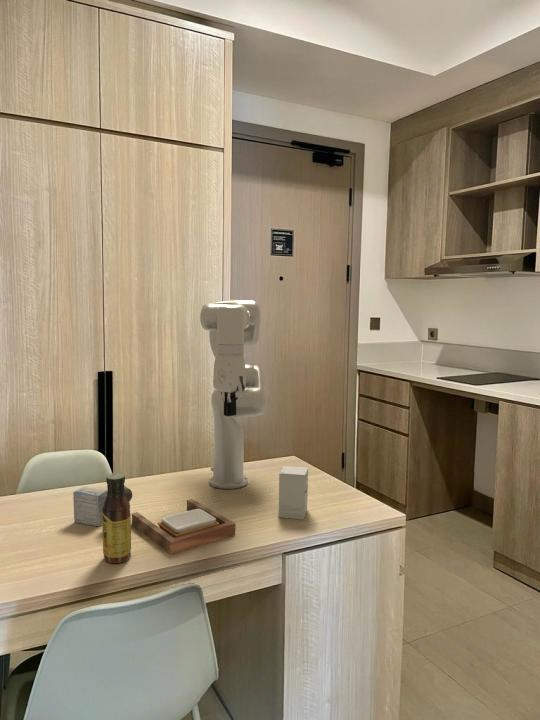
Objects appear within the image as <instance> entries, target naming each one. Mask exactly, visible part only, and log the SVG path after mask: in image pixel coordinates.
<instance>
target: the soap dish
mask: <svg viewBox="0 0 540 720" xmlns="http://www.w3.org/2000/svg"><path fill="white" fill-rule="evenodd" d="M217 525H219V523H218V522H217V521H216V518H214V517H213V516H211V515H210V514H208V513H206V512H205V511H203V510H201V509H195V510H190V511H188V510H186V511H182V512H178V513H173V514H169V515H167V516H163V517H161V521H159V522H157V526H158V527H159V528H160V529H162V530H163V531H165V532H166V533H168V534H169V535H170V536H172V537H173V538H176V537H180V536H183V535H187V534H190V533H193V532H197V531H200V530H204V529H207V528H211V527H214V526H217Z"/></svg>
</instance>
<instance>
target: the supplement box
mask: <svg viewBox="0 0 540 720" xmlns="http://www.w3.org/2000/svg"><path fill="white" fill-rule="evenodd" d="M278 475H279V476H278V480H279V481H278V511H277V513H278V516H277V517H278V518H284V519H292V520H293V519H294V520H304V519H305V516H306V513H307V510H308V494H309V493H308V491H309V489H308V487H309V467H304V466H290V465H289V466H288V465H283V466H282V468H281V470H280V472H279V473H278Z"/></svg>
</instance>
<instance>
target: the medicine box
mask: <svg viewBox="0 0 540 720" xmlns="http://www.w3.org/2000/svg"><path fill="white" fill-rule="evenodd" d="M72 494H73V519H74V523H77V524H83V525H88V526H95V527H102V509H103V506H104V503H105V500H106V497H107V489H103V488H94V487H89V486H88V487H87V486H83V487H80V488H78V489H76V490H74V491H73V493H72Z"/></svg>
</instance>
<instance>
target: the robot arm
mask: <svg viewBox="0 0 540 720" xmlns="http://www.w3.org/2000/svg"><path fill="white" fill-rule="evenodd" d="M199 322H200V325H201V328H202V329H203V330H204V331H209V332H208V333H209V335H208V336H209V345H210V349H211V352H212V354H213V356H214V358H215V359H214V362H213V363H214V365H213V374H212V375H213V376H212V377H213V380H212V386H213V388H214V390H213V391H212V393H211V397H210V398H211V399H210V400H211V408H212V417H213V433H214V434H213V437H214V438H213V440H214V441H213V445H214V446H213V447H214V448H213V454H214V455H213V456H214V457H213V459H214V460H213V461H214V462H213V466H211V467H210V471H211V472H213V474H212V476H211V477H210V478H209V482H208V483H209V485H210V486H211V487H214V488H218V489H222V490H228V489H229V490H232V489H239V488H240V489H241V488H243V487H246V486H247V485H248V484H249V478H248V477H247V476H246V475H244V463H245V462H244V448H245V447H244V446H245V445H244V439H245V438H244V437H245V436H244V435H245V434H244V427H243V426H242V424H241V422H239V420H238V419H237V417H238V418H239V417H260V416H262V415H264V414H265V412H266V409H267V395H266V394H267V393H266V384H265V374H264V370H263V369H262V367H261V366H260V365H258V364H254V363H253V364H251V363H250V364H248V363H245V362H246V361H245V356H244V355H245V354H244V353H245V346H254V345H256V344H257V343H258V341H259V339H260V338H259V337H260V327H261V325H260V324H261V309H260V306H259V304H258V303H257V302H256V301H255V300H252V299H250V300H249V299H248V300H247V299H243V300H241V299H227V300H223V301H217V302H210V303H205V304H203V305H202V307H201V310H200V314H199Z"/></svg>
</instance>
